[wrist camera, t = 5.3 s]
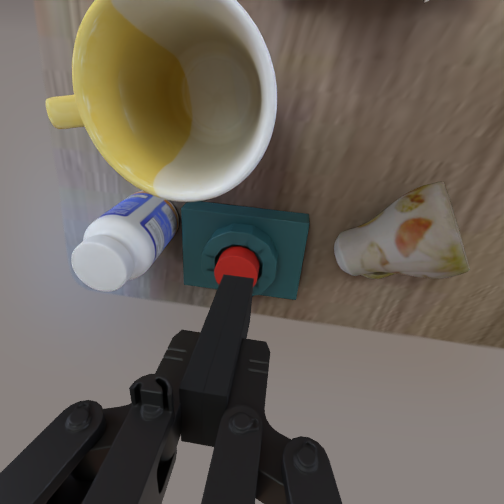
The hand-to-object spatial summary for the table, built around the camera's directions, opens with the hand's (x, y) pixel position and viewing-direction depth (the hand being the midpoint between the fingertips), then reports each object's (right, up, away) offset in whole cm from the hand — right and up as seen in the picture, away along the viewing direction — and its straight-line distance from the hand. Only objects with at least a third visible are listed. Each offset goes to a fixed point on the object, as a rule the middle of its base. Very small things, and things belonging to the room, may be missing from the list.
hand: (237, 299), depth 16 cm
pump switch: (0, +3, +15) cm, 15 cm away
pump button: (0, +1, +12) cm, 12 cm away
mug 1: (-4, +15, +9) cm, 18 cm away
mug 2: (+13, +4, +12) cm, 18 cm away
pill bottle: (-9, +6, +15) cm, 18 cm away
